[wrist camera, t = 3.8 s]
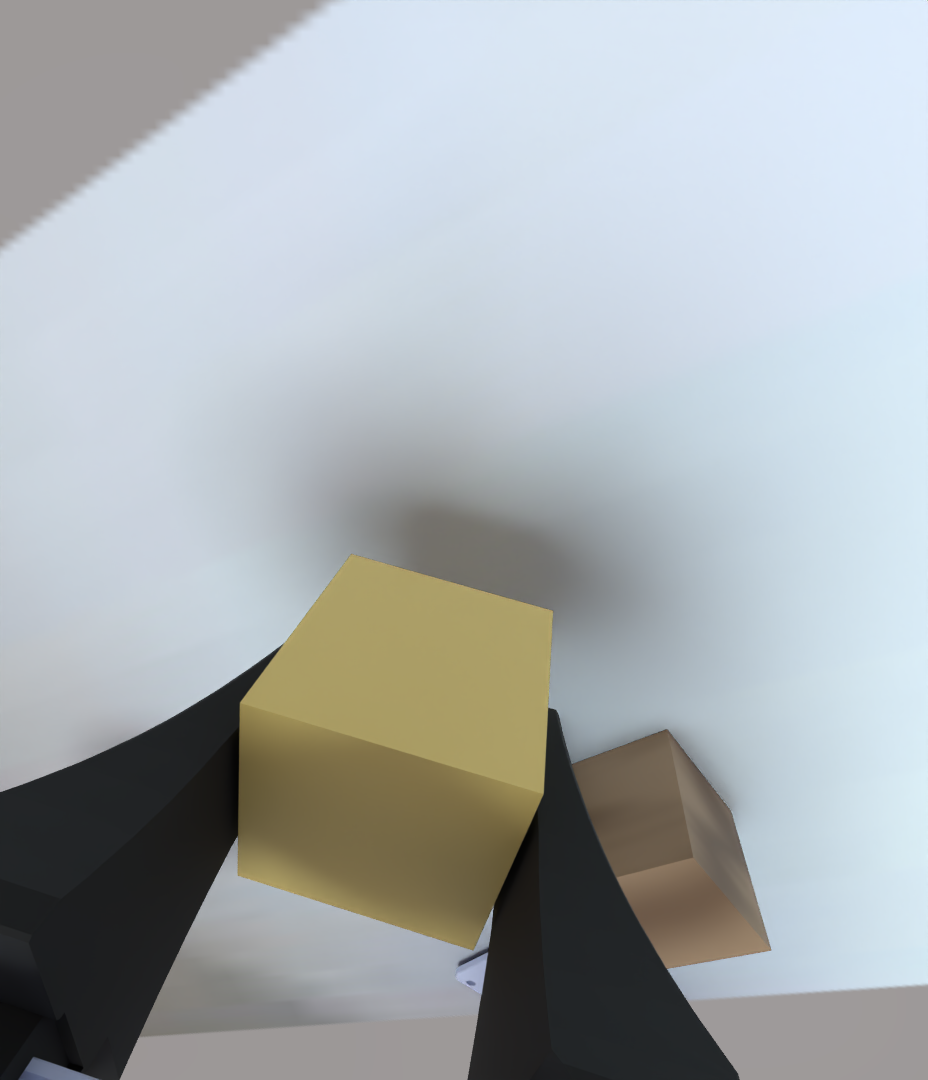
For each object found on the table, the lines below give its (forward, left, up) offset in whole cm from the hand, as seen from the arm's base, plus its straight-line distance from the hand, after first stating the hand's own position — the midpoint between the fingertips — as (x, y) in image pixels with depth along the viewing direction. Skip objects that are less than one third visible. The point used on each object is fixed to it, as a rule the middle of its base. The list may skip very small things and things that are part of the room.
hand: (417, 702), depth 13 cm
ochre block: (0, 0, -2) cm, 2 cm away
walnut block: (-12, +3, -7) cm, 14 cm away
